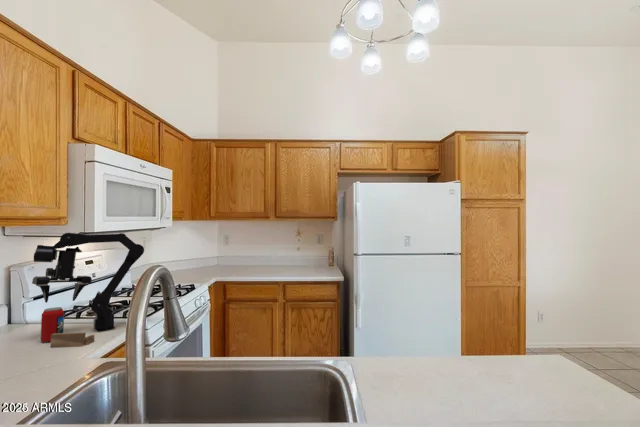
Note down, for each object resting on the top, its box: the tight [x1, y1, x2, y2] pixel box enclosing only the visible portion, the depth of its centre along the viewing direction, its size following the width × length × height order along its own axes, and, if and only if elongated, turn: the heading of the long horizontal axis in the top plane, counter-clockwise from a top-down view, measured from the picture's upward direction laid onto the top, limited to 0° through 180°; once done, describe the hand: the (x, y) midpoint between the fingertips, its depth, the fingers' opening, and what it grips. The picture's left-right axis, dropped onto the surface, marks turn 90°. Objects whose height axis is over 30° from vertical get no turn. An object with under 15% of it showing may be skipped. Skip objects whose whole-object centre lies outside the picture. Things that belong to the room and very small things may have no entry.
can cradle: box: [50, 332, 95, 348], centre depth 122 cm, size 6×12×4 cm, turn 93°
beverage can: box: [40, 306, 65, 343], centre depth 128 cm, size 7×7×12 cm
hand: (60, 301), depth 135 cm, fingers open, 9 cm apart
